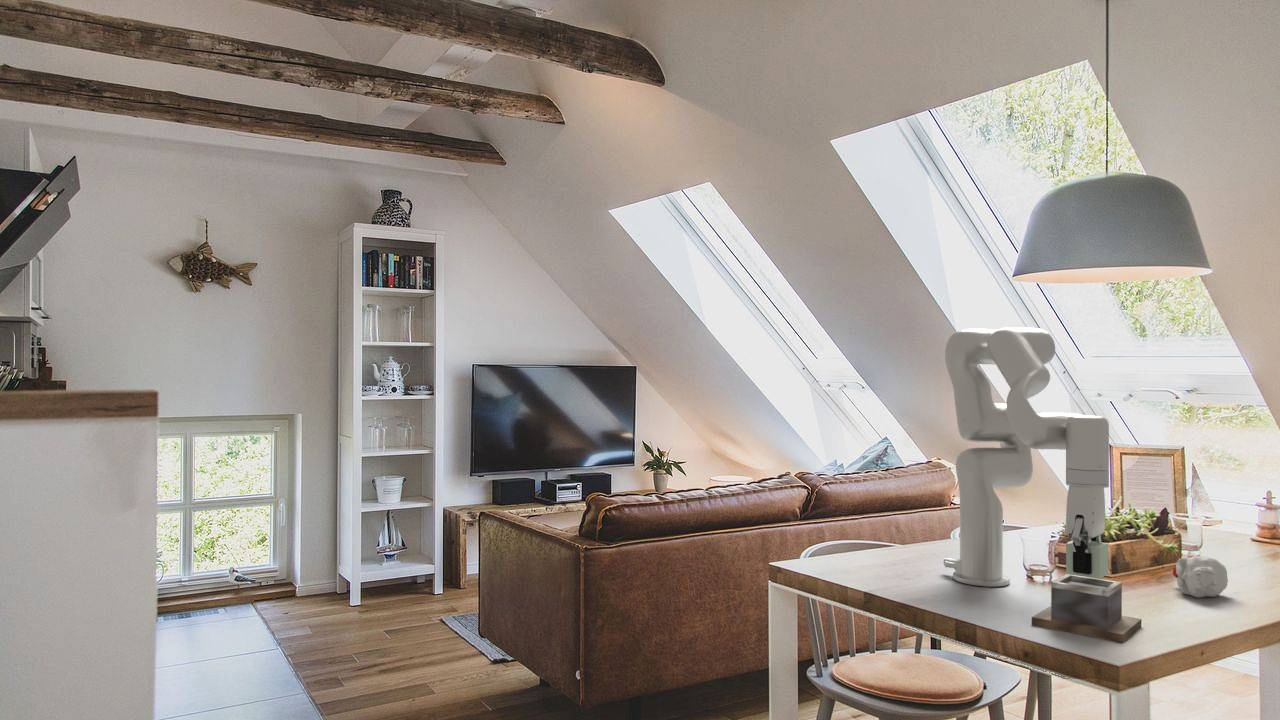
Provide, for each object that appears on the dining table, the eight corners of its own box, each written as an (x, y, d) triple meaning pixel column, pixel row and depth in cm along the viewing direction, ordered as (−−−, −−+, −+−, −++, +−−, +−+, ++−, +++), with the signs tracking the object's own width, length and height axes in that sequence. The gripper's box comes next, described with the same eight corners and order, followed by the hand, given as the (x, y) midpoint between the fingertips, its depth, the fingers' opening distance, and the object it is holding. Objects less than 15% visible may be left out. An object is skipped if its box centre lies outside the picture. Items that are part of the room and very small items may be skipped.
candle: (1200, 600, 186) (1154, 591, 201) (1249, 600, 187) (1200, 591, 202) (1196, 558, 187) (1151, 552, 202) (1245, 557, 188) (1196, 552, 203)
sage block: (1066, 573, 168) (1066, 543, 168) (1075, 569, 172) (1075, 539, 172) (1099, 578, 164) (1099, 547, 164) (1108, 573, 168) (1108, 543, 168)
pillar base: (1031, 624, 168) (1031, 581, 168) (1054, 610, 179) (1054, 569, 179) (1122, 642, 157) (1122, 596, 158) (1141, 626, 168) (1141, 583, 168)
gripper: (1079, 473, 177) (1079, 561, 177) (1052, 480, 165) (1052, 574, 164) (1120, 476, 172) (1120, 566, 172) (1095, 483, 160) (1095, 580, 159)
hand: (1087, 569), depth 168 cm, fingers closed on sage block, 6 cm apart
